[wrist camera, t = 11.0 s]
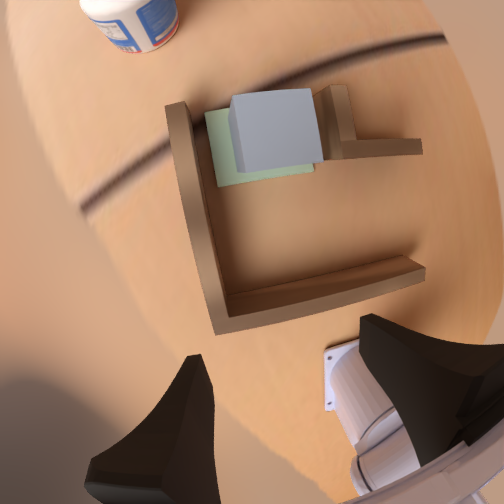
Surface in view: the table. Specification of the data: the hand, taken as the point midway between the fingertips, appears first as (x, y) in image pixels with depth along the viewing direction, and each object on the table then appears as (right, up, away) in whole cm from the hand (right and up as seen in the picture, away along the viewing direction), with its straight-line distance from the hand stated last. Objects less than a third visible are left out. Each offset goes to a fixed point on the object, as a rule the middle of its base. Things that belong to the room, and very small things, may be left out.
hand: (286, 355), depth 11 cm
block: (-1, +12, +7) cm, 14 cm away
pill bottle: (-10, +22, +3) cm, 24 cm away
